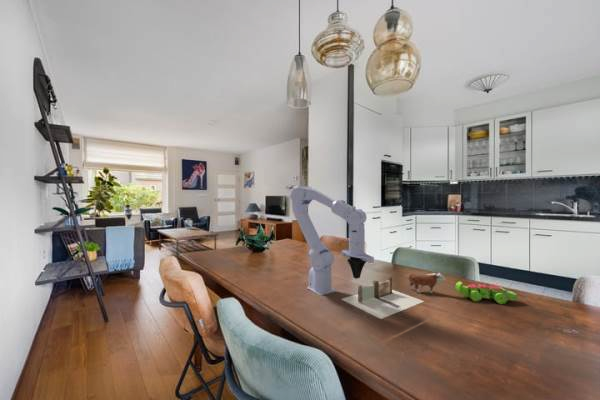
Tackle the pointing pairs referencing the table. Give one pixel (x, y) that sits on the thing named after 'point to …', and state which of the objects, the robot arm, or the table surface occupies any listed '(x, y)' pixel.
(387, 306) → the board
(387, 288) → the fixed fence
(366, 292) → the hinged panel
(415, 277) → the bull figurine
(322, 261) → the robot arm
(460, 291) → the toy crocodile
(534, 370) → the table surface
